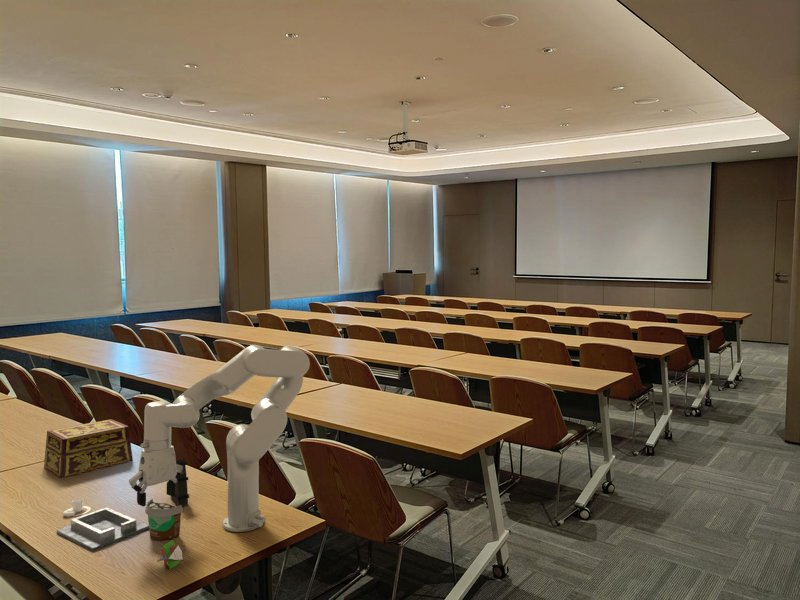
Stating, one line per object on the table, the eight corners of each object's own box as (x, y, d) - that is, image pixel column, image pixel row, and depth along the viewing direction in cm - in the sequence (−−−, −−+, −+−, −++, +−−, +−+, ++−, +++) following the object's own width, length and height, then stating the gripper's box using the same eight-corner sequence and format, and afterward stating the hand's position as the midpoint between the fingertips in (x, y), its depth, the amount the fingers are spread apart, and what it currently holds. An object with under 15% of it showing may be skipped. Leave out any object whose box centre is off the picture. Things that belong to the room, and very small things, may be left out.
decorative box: (113, 451, 260) (113, 417, 259) (133, 461, 248) (132, 425, 247) (43, 467, 239) (42, 430, 238) (61, 479, 227) (60, 440, 226)
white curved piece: (65, 520, 192) (65, 508, 191) (57, 513, 197) (57, 501, 197) (94, 512, 198) (94, 500, 198) (86, 505, 203) (85, 493, 203)
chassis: (149, 528, 186) (149, 517, 185) (92, 551, 171) (92, 539, 170) (113, 513, 197) (113, 502, 196) (56, 533, 182) (56, 522, 181)
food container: (136, 538, 179) (135, 505, 178) (151, 530, 185) (151, 498, 184) (168, 546, 174) (167, 512, 174) (183, 537, 180) (182, 505, 179)
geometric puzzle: (147, 560, 162) (160, 540, 160) (165, 548, 168) (178, 530, 166) (164, 579, 160) (177, 560, 158) (181, 567, 167) (195, 548, 164)
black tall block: (180, 506, 199) (174, 460, 203) (171, 510, 209) (166, 466, 213) (191, 503, 201) (186, 458, 205) (182, 507, 211) (176, 465, 216)
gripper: (138, 453, 168) (137, 512, 169) (190, 439, 183) (188, 494, 184) (123, 447, 172) (121, 505, 173) (174, 435, 187) (173, 489, 188)
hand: (156, 500), depth 178 cm, fingers open, 9 cm apart
